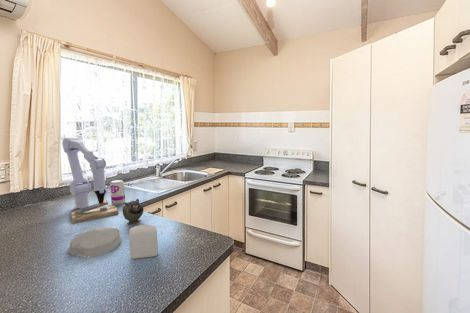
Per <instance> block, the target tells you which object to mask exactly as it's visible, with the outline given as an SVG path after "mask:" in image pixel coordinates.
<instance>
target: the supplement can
mask: <svg viewBox="0 0 470 313" xmlns="http://www.w3.org/2000/svg"><path fill="white" fill-rule="evenodd" d="M109 190H110V202H111V205H115V206H120V205H124V204H125V203H126V189H125V182H124V181H123V179H115V180H112V181H110V184H109ZM124 202H125V203H124Z"/></svg>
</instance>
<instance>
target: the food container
mask: <svg viewBox="0 0 470 313" xmlns="http://www.w3.org/2000/svg"><path fill="white" fill-rule="evenodd" d="M120 235H121V233H120V229H118V228H117V227H97V228H93V229H89V230H88V229H87V230H86V231H84V232H81V233H80V234H77V235H75V236H74V237H73V238H72V239H71V240H70V243H69V247H68V249H67V251H68V252H69V253H70V255H72V256H73V257H78V258H79V259H81V258H82V259H83V258H84V256H85V257H86V258H93V257H92V256H94V257H98V256H101V254H102V255H104V254H107V253H109V252H112V251H114V250H115V249H116V248H118V247H119V246H120V244H121V242H122V240H123V238H122V237H121V236H120ZM97 255H98V256H97ZM88 256H89V257H88Z"/></svg>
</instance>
